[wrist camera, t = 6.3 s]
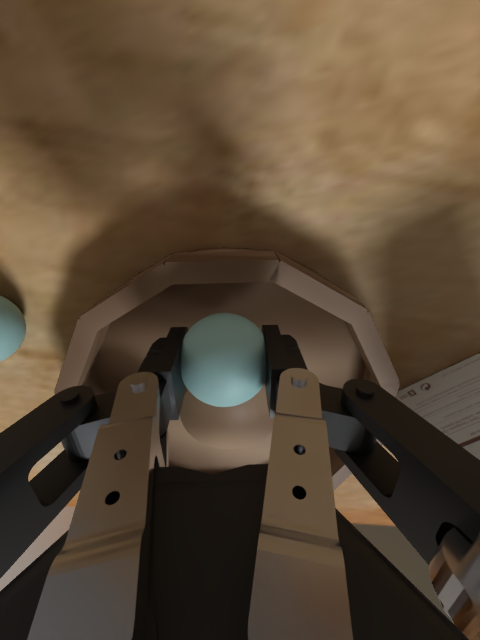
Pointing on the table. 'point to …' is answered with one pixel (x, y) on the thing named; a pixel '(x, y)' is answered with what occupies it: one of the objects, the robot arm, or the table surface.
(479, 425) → the supplement box
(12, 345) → the bead
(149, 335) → the tray
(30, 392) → the table surface
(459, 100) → the table surface
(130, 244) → the table surface
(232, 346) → the bead
